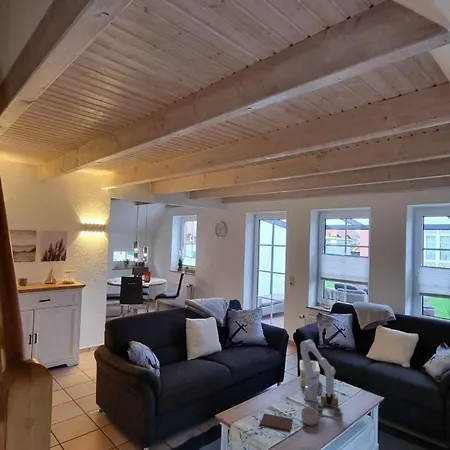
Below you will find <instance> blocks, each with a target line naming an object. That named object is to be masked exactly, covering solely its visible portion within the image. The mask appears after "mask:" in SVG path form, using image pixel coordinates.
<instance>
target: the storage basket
mask: <svg viewBox="0 0 450 450" xmlns="http://www.w3.org/2000/svg"><path fill="white" fill-rule="evenodd" d="M310 361H311V365H312V368H313V372H314V374H316V375H317V378H318V379H319V380H320V374H321V369H320V366H319V365H320V364H319V361H318V360H317V361H316V360H310ZM299 372H300V375H299V380H300V381H299V382H300V386H301V387H304V388H305V386H307V385H306V376H307V373H306V369H305V366H304V362H303V359H300V360H299ZM318 388H319V386H318V387H317V389H318Z"/></svg>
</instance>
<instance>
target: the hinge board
mask: <svg viewBox="0 0 450 450" xmlns="http://www.w3.org/2000/svg"><path fill="white" fill-rule="evenodd" d="M315 409H316V410H317V411H318V416H319V417H326V418H330V419H331V418H332V419H335V420H342V419H343V417H342V416H343V411H342V408H341V407H334V409H331V408H326V407H324V405H322V404H321V403H317V404H316V406H315Z"/></svg>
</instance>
